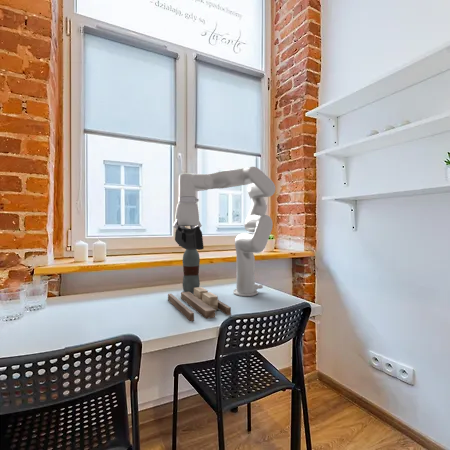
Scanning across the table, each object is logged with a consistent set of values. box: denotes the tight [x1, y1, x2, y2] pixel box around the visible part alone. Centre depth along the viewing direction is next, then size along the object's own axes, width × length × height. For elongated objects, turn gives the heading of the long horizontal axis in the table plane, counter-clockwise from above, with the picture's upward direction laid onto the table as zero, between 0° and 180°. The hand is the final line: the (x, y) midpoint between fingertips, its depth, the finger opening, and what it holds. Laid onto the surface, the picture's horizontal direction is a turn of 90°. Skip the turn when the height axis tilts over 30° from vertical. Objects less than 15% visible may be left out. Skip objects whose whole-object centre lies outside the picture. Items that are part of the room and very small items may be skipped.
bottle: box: [182, 249, 201, 294], centre depth 161 cm, size 9×9×30 cm
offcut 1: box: [193, 286, 209, 300], centre depth 141 cm, size 4×8×6 cm, turn 26°
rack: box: [167, 291, 232, 322], centre depth 133 cm, size 18×32×3 cm, turn 26°
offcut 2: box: [202, 291, 219, 311], centre depth 131 cm, size 4×8×6 cm, turn 26°
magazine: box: [174, 225, 205, 251], centre depth 134 cm, size 17×3×30 cm
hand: (187, 241), depth 135 cm, fingers closed on magazine, 3 cm apart
